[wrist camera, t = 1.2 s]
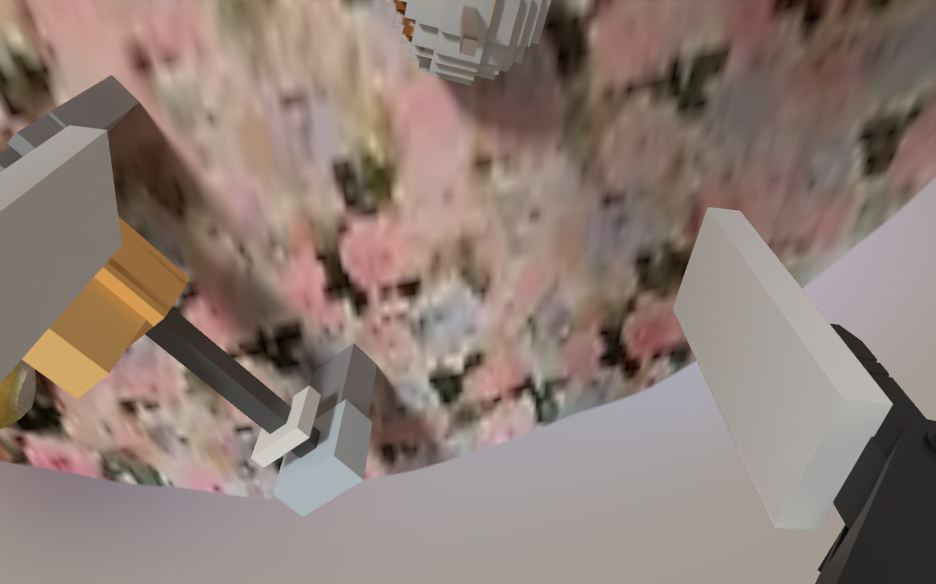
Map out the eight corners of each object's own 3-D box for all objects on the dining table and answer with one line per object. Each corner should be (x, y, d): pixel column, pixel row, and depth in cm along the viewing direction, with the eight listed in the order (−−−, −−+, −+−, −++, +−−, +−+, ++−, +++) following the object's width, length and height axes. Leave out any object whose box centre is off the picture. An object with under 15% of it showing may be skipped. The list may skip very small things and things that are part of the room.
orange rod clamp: (71, 256, 39) (-20, 346, 32) (117, 214, 38) (33, 299, 30) (144, 316, 41) (75, 413, 34) (190, 278, 40) (128, 371, 32)
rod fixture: (29, 157, 43) (-100, 244, 33) (111, 75, 41) (-2, 142, 31) (318, 405, 53) (285, 527, 44) (397, 351, 51) (382, 468, 41)
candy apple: (411, -114, 36) (382, -102, 23) (557, -73, 37) (607, -40, 24) (383, 40, 40) (345, 124, 27) (516, 74, 41) (540, 170, 28)
